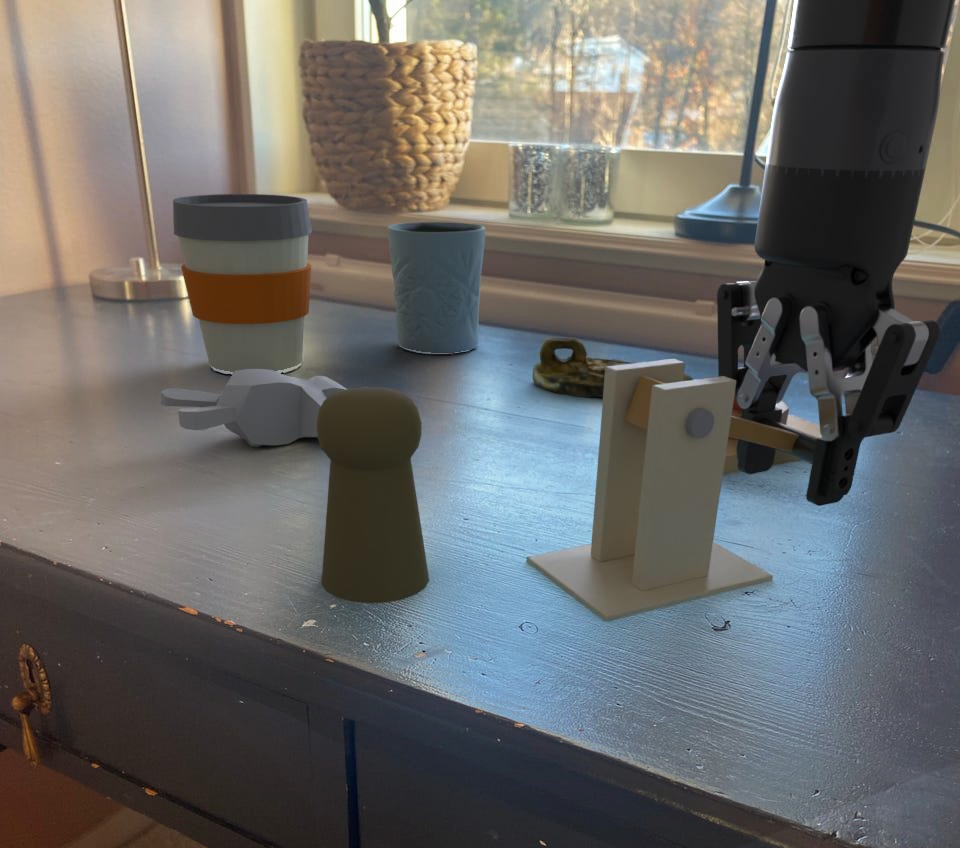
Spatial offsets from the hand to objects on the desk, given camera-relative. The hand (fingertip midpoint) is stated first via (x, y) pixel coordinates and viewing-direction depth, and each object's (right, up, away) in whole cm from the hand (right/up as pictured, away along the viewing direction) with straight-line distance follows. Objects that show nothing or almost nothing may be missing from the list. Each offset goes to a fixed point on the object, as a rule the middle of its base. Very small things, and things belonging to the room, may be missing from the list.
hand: (787, 484), depth 56 cm
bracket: (-8, -6, -2) cm, 11 cm away
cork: (-23, -7, -3) cm, 25 cm away
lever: (-5, +1, -4) cm, 6 cm away
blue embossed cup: (-22, +23, +49) cm, 59 cm away
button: (+2, +8, +17) cm, 19 cm away
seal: (-5, +14, +35) cm, 38 cm away
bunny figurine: (-34, +7, +20) cm, 40 cm away
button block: (+2, +5, +18) cm, 19 cm away
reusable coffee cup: (-40, +18, +40) cm, 60 cm away
